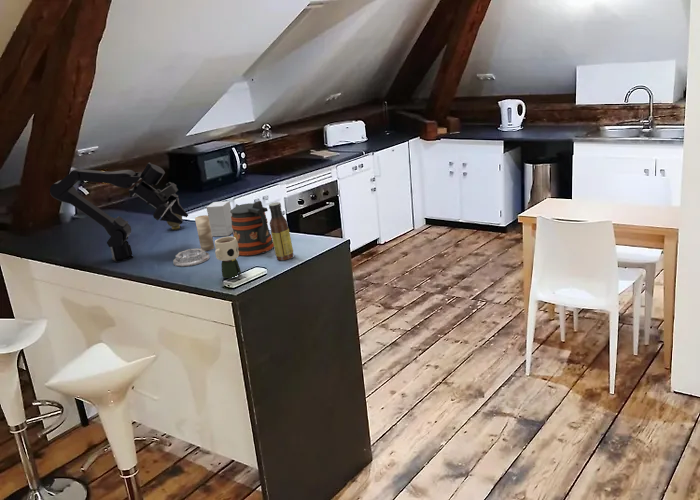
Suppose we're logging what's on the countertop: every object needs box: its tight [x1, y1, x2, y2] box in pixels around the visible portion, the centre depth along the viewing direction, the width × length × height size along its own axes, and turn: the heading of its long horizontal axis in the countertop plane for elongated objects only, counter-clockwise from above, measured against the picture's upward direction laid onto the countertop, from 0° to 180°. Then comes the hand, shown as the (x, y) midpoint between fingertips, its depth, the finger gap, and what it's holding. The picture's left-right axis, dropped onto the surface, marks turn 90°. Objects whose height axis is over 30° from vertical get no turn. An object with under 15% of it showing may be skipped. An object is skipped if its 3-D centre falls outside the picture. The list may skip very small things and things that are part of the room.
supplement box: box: [206, 200, 233, 238], centre depth 277 cm, size 7×7×13 cm
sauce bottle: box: [268, 201, 295, 261], centre depth 237 cm, size 7×6×20 cm
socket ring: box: [172, 247, 211, 268], centre depth 250 cm, size 13×13×3 cm
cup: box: [166, 213, 183, 231], centre depth 293 cm, size 8×7×8 cm
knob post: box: [194, 214, 215, 252], centre depth 260 cm, size 5×5×12 cm
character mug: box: [214, 236, 242, 279], centre depth 226 cm, size 11×7×13 cm, turn 150°
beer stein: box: [230, 200, 274, 257], centre depth 248 cm, size 19×15×20 cm
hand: (184, 219), depth 258 cm, fingers open, 9 cm apart
